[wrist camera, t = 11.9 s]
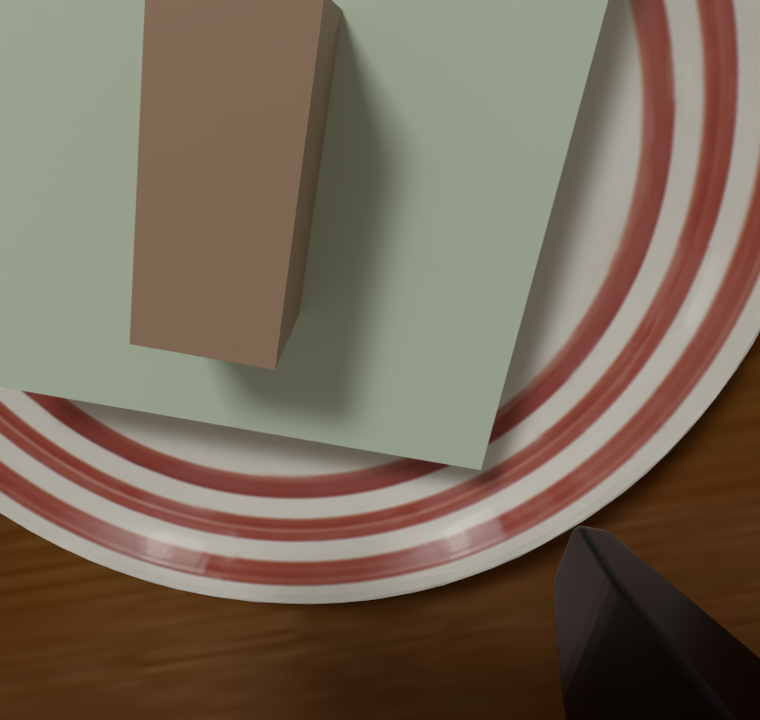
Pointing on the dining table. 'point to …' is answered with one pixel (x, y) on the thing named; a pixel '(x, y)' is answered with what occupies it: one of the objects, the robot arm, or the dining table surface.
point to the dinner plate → (522, 384)
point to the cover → (283, 207)
